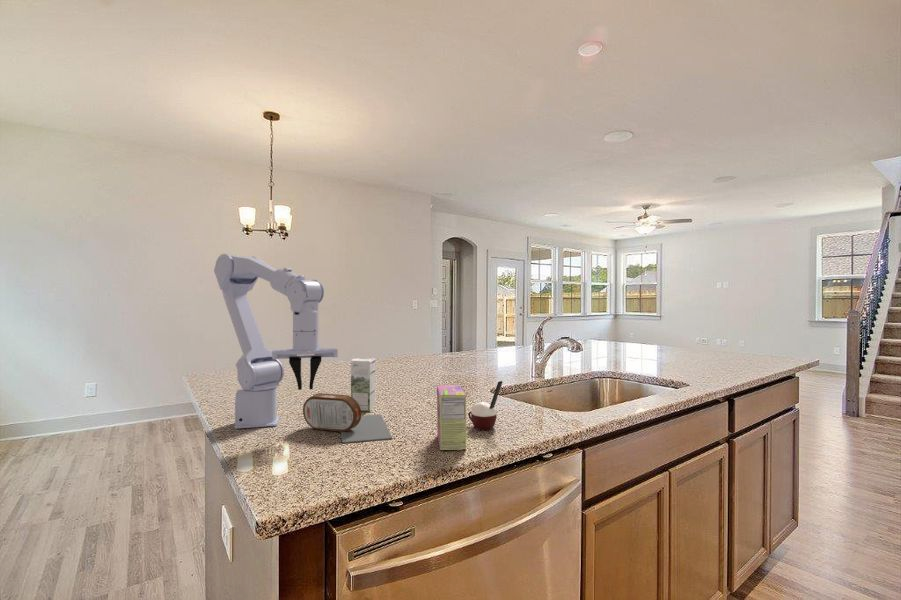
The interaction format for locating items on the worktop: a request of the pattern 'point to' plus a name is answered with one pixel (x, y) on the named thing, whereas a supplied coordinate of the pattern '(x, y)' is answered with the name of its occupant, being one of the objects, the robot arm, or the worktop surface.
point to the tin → (332, 412)
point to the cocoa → (485, 412)
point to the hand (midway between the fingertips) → (305, 388)
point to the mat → (367, 430)
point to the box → (451, 417)
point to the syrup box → (363, 382)
